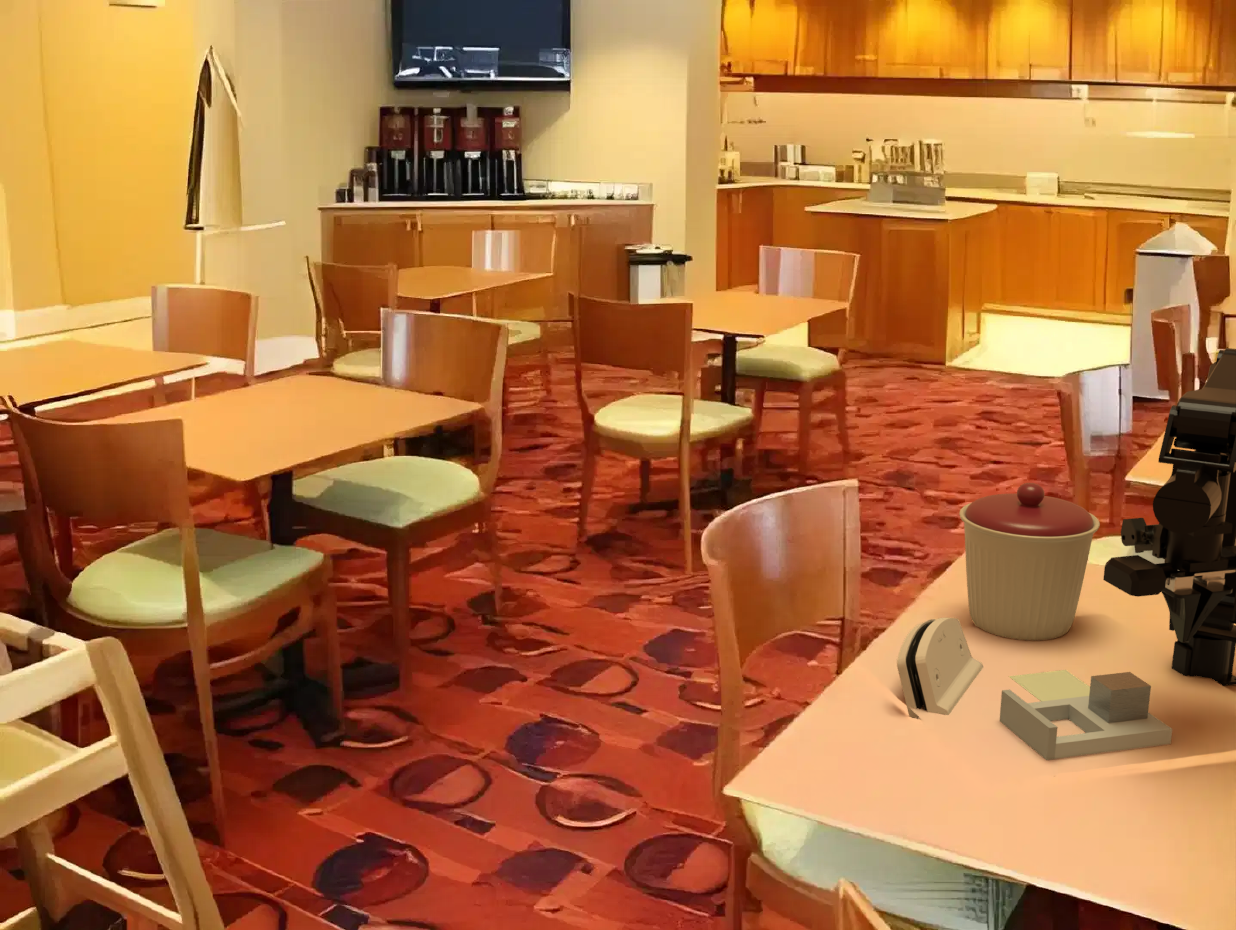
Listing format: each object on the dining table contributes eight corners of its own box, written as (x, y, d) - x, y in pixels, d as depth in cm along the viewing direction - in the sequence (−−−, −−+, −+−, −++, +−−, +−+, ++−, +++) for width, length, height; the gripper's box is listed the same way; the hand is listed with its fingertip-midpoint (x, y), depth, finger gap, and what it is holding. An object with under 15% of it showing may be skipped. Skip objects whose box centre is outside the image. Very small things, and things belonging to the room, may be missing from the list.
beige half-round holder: (950, 726, 158) (926, 646, 157) (912, 731, 160) (888, 651, 160) (987, 675, 172) (965, 601, 171) (951, 679, 174) (929, 606, 174)
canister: (968, 599, 198) (977, 460, 193) (1097, 620, 190) (1111, 475, 185) (938, 642, 182) (947, 492, 177) (1077, 666, 175) (1092, 510, 169)
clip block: (1126, 703, 157) (1129, 671, 156) (1147, 718, 153) (1151, 685, 152) (1088, 708, 156) (1091, 676, 155) (1108, 723, 152) (1111, 690, 151)
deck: (1116, 715, 161) (1120, 676, 159) (1169, 753, 151) (1174, 712, 150) (998, 730, 157) (1001, 690, 156) (1045, 770, 148) (1049, 728, 146)
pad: (1065, 678, 171) (1065, 669, 171) (1101, 705, 163) (1102, 695, 163) (1007, 685, 169) (1008, 676, 169) (1042, 712, 161) (1043, 703, 161)
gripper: (1222, 484, 160) (1207, 608, 164) (1081, 496, 155) (1070, 623, 159) (1289, 511, 149) (1271, 643, 153) (1140, 524, 145) (1126, 660, 149)
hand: (1182, 641), depth 154 cm, fingers closed
